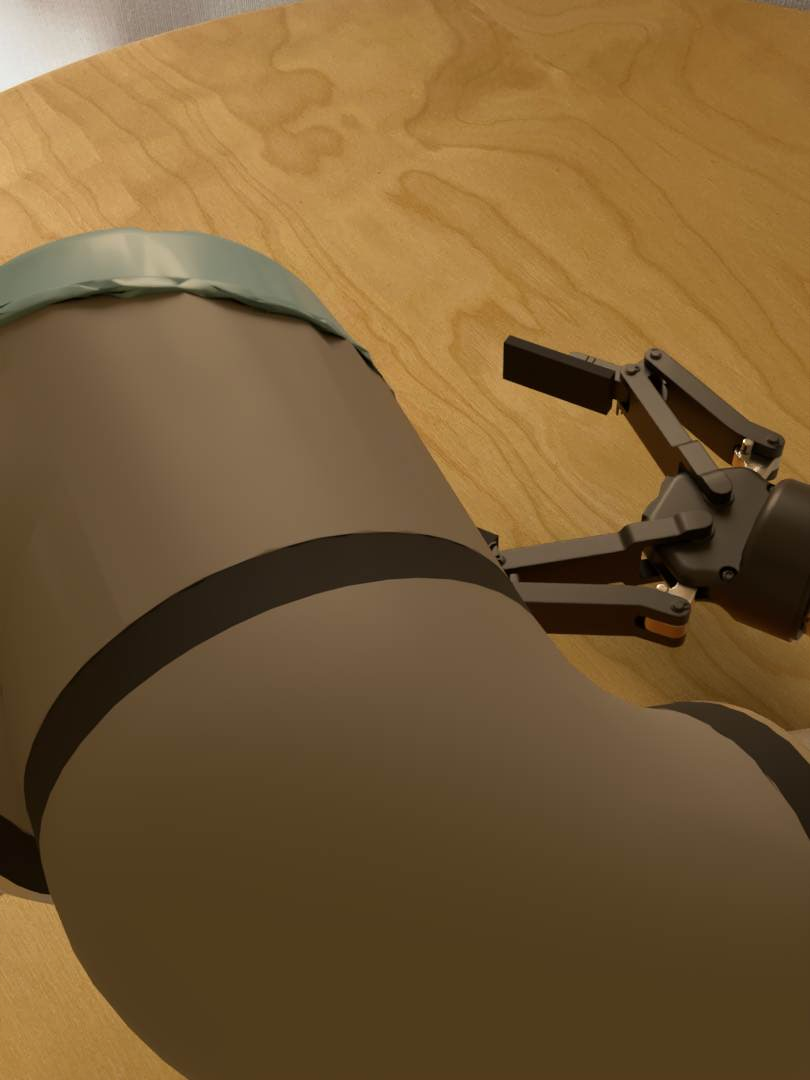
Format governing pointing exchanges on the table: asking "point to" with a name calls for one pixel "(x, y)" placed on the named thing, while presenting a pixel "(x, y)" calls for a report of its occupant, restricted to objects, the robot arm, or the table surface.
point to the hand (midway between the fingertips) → (446, 430)
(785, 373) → the table surface
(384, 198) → the table surface
